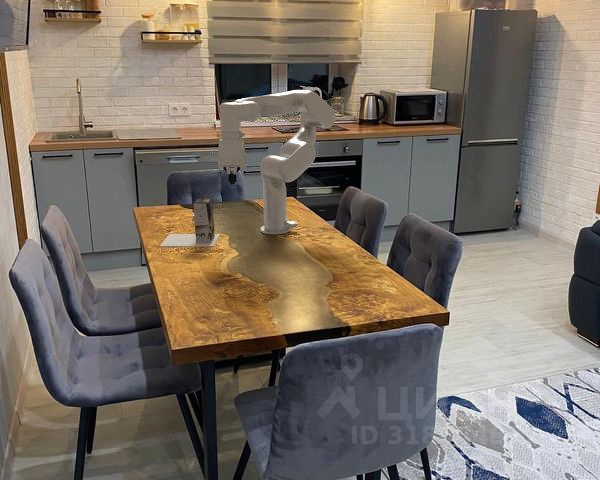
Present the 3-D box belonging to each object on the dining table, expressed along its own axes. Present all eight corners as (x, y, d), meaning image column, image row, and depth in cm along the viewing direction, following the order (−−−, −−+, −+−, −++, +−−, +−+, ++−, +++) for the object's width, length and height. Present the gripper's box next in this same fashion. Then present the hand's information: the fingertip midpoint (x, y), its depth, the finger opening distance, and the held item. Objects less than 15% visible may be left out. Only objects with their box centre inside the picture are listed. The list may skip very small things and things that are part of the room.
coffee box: (211, 243, 232) (209, 203, 228) (195, 243, 233) (192, 203, 228) (215, 236, 241) (213, 197, 236) (199, 236, 241) (197, 197, 236)
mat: (220, 234, 244) (220, 234, 244) (213, 246, 229) (213, 246, 229) (169, 234, 245) (169, 234, 245) (159, 246, 230) (159, 245, 230)
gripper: (251, 134, 227) (252, 182, 233) (213, 134, 228) (215, 181, 233) (249, 137, 220) (250, 185, 226) (209, 137, 221) (211, 185, 226)
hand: (232, 183), depth 229 cm, fingers closed
